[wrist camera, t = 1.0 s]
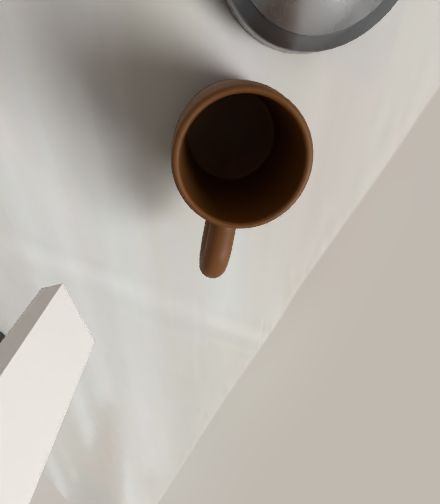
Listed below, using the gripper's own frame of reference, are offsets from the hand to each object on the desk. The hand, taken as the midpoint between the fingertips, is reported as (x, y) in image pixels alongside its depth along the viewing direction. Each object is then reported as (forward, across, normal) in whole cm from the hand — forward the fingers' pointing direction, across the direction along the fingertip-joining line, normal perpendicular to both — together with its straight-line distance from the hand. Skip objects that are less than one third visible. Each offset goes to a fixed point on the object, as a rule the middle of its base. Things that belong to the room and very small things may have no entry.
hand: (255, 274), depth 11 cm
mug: (+17, 0, 0) cm, 17 cm away
